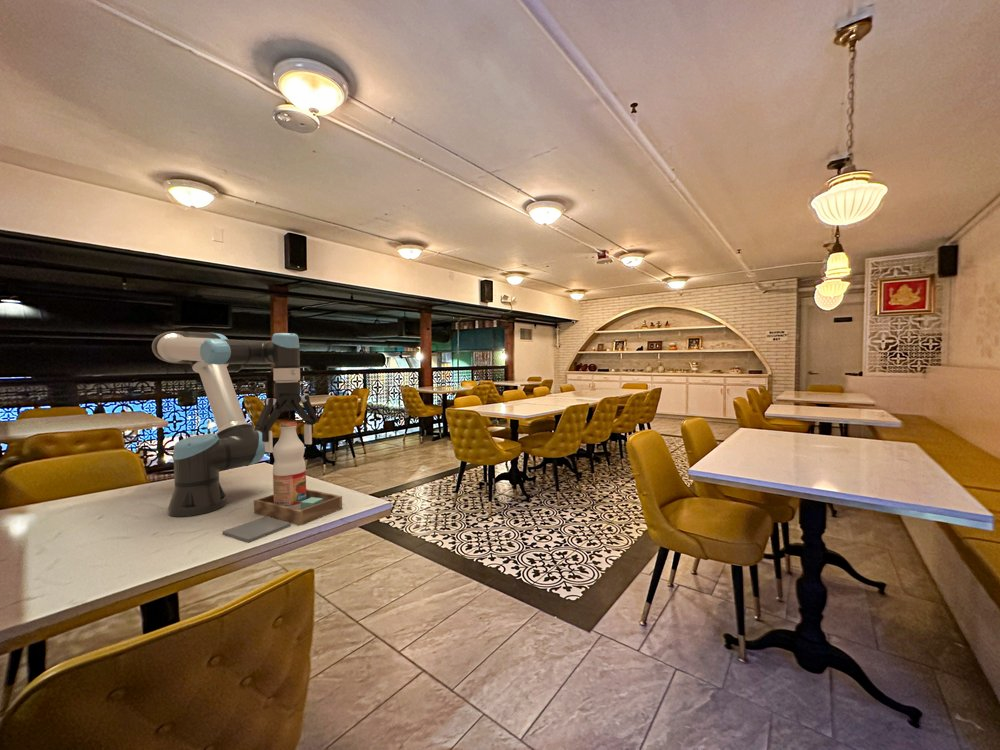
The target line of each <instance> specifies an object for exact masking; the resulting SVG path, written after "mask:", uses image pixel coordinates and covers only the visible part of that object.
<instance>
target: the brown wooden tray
mask: <svg viewBox="0 0 1000 750" xmlns="http://www.w3.org/2000/svg"><path fill="white" fill-rule="evenodd" d="M306 497H307V499H309V498H311V497H315V498H323V502H321V503H318V504H316V505H313V506H310V507H307V508H305V509H302V510H299V509H295V508H290V507H286V506H282V505H278V504H274V494H271V495H268V496H264V497H261V498H257V499H254V500H253V513H254V514H256V515H261V516H262V517H265V516H266V517H269V518H273V519H277V520H280V521H284V522H288V523H291V524H295V525H298V526H302V525H305V524H307V523H310V522H311V521H315V520H318V519H320V518H322V517H324V516H323V515H325V516H327V515H329V514H328V513H330V514H332V513H335V512H337V511H339V510H338V509H340V510H342V509H343V496H342V495H337V494H333V493H329V492H328V493H327V492H322V491H317V490H313V489H308V488H306ZM341 508H342V509H341ZM336 510H337V511H336ZM334 511H335V512H334ZM331 512H332V513H331ZM326 514H327V515H326ZM319 517H320V518H319Z"/></svg>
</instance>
